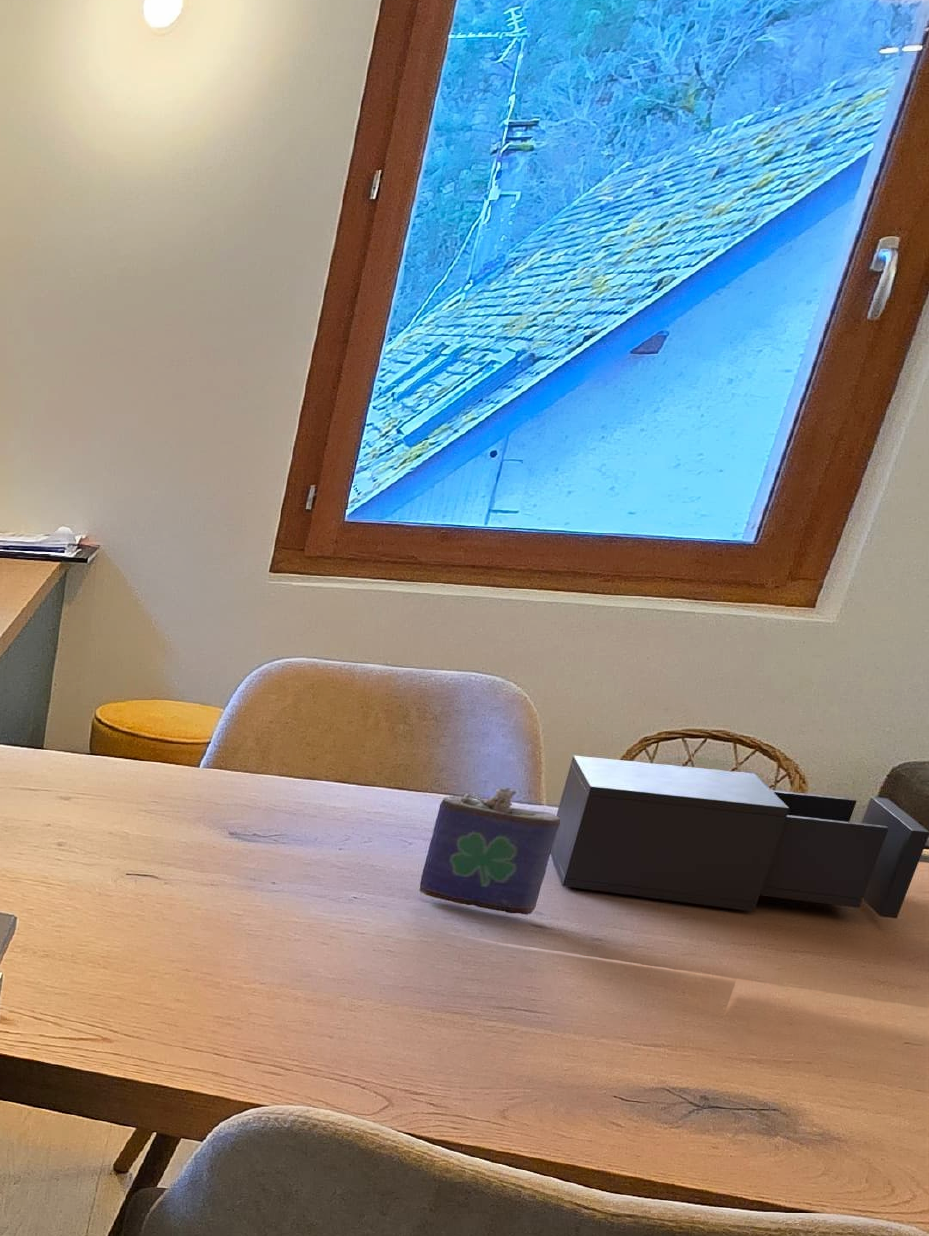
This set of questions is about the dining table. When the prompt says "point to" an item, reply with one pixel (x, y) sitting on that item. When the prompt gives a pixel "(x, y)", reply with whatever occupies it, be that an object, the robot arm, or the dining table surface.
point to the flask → (489, 853)
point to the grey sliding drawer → (845, 853)
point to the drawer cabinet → (667, 832)
